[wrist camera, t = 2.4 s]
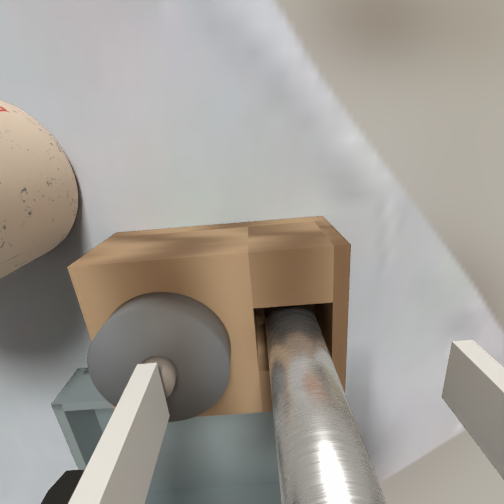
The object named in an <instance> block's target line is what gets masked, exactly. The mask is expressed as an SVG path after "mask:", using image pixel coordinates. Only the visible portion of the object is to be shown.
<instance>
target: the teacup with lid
mask: <svg viewBox="0 0 504 504" xmlns="http://www.w3.org/2000/svg"><path fill="white" fill-rule="evenodd" d="M77 209H78V190H77V184H76V179H75V176H74V173H73V170H72V167H71V165H70V163H69V161H68V159H67V157H66V155H65V153H64V152H63V150H62V148H61V147H60V145H59V144H58V143H57V141H56V140H55V139H54V138H53V137H52V135H51V134H50V133H49V132H48V131H47V130H46V129H45V128H44V127H43V126H42V125H41V124H40V123H38V122H37V121H36V120H35V119H34V118H32V117H31V116H29V115H28V114H27V113H25V112H24V111H22V110H20V109H19V108H17V107H15V106H13V105H11V104H9V103H7V102H4V101H2V100H0V279H1V278H3V277H4V276H6V275H8V274H10V273H12V272H13V271H15V270H17V269H19V268H21V267H22V266H24V265H26V264H28V263H29V262H31V261H33V260H35V259H37V258H38V257H40V256H42V255H44V254H46V253H47V252H49V251H51V250H52V249H54V248H55V247H56V246H58V245H59V244H60V243H61V242H62V241H63V240H64V239H65V238H66V236H67V235H68V234H69V232H70V230H71V228H72V226H73V224H74V221H75V218H76V215H77Z"/></svg>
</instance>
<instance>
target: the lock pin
mask: <svg viewBox="0 0 504 504" xmlns="http://www.w3.org/2000/svg"><path fill="white" fill-rule="evenodd" d="M264 318H265V328H266V339H267V350H268V361H269V372H270V383H271V394H272V405H273V416H274V427H275V438H276V449H277V460H278V471H279V482H280V492H281V503H282V504H386V501H385V498H384V496H383V493H382V490H381V488H380V485H379V482H378V480H377V477H376V475H375V472H374V469H373V467H372V464H371V461H370V459H369V456H368V454H367V451H366V448H365V446H364V443H363V440H362V438H361V435H360V433H359V430H358V427H357V425H356V422H355V419H354V417H353V414H352V411H351V409H350V406H349V404H348V401H347V398H346V396H345V393H344V390H343V388H342V385H341V383H340V380H339V377H338V375H337V372H336V369H335V367H334V364H333V362H332V359H331V356H330V354H329V351H328V348H327V346H326V343H325V340H324V338H323V335H322V333H321V330H320V327H319V325H318V322H317V319H316V317H315V314H314V312H313V309H312V306H311V304H305V305H292V306H279V307H266V308H264Z"/></svg>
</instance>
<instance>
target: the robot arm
mask: <svg viewBox="0 0 504 504" xmlns="http://www.w3.org/2000/svg"><path fill="white" fill-rule="evenodd" d="M442 398H443V399H444V401H445V402H446V403H447V405H448V406H449V407H450V409H451V410H452V411H453V413H454V414H455V415H456V417H457V418H458V419H459V421H460V422H461V423H462V425H463V426H464V427H465V429H466V430H467V431H468V433H469V434H470V435H471V437H472V438H473V439H474V441H475V442H476V443H477V445H478V446H479V447H480V449H481V450H482V451H483V453H484V454H485V455H486V457H487V458H488V459H489V461H490V462H491V463H492V465H493V466H494V467H495V469H496V470H497V471H498V472H499V474H500V475H501V477H502V478H503V479H504V368H503V367H502V366H501V365H500V364H499V363H498V362H497V361H496V360H495V359H493V358H492V357H491V356H490V355H489V354H488V353H487V352H486V351H484V350H483V349H482V348H481V347H480V346H479V345H478V344H477V343H475V342H474V341H473V340H466V341H452V345H451V350H450V356H449V361H448V366H447V371H446V377H445V382H444V387H443V393H442ZM169 416H170V415H169V411H168V407H167V403H166V398H165V394H164V390H163V386H162V382H161V377H160V373H159V369H158V365H157V363H147V364H137V366H136V368H135V370H134V372H133V374H132V376H131V378H130V380H129V382H128V384H127V386H126V388H125V390H124V392H123V394H122V396H121V398H120V400H119V402H118V404H117V406H116V408H115V410H114V412H113V414H112V416H111V418H110V420H109V422H108V424H107V426H106V428H105V430H104V432H103V434H102V436H101V438H100V440H99V442H98V444H97V446H96V449H95V451H94V453H93V455H92V457H91V459H90V461H89V463H88V465H87V467H86V469H85V470H71V471H66V472H65V473H64V474H63V475H62V476H61V477H60V478H59V480H58V481H57V482H56V483H55V484H54V485H53V486H52V487H51V488H50V490H49V491H48V492H47V494H46V496H45V497H44V499H43V501H42V503H41V504H145V500H146V497H147V493H148V490H149V486H150V483H151V479H152V476H153V472H154V469H155V465H156V462H157V458H158V455H159V451H160V448H161V444H162V441H163V437H164V434H165V430H166V427H167V423H168V420H169Z"/></svg>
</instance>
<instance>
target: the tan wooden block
mask: <svg viewBox="0 0 504 504" xmlns="http://www.w3.org/2000/svg"><path fill="white" fill-rule="evenodd" d="M350 252H351V244H350V243H349V242H348V241H347V240H346V239H345V238H344V237H343V236H342V235H341V234H340V233H339V232H338V231H337V230H336V229H335V228H334V227H333V226H332V225H331V224H330V223H329V222H328V221H327V220H326V219H325V218H324V217H323V216H317V217H304V218H292V219H279V220H267V221H255V222H242V223H230V224H217V225H205V226H192V227H180V228H168V229H155V230H143V231H130V232H118V233H115V234H113V235H112V236H111V237H109V238H108V239H106V240H105V241H103V242H102V243H101V244H99V245H98V246H96V247H95V248H93V249H92V250H91V251H89V252H88V253H86V254H85V255H83V256H82V257H81V258H79V259H78V260H76V261H75V262H73V263H72V264H71V265H69V266H68V267H67V268H68V271H69V274H70V277H71V281H72V284H73V287H74V290H75V293H76V296H77V299H78V302H79V305H80V308H81V311H82V314H83V317H84V320H85V324H86V327H87V330H88V333H89V336H90V339H91V345H90V347H89V351H88V358H87V364H88V371H89V374H90V377H91V380H92V382H93V384H94V385H95V387H96V389H97V390H98V391H99V393H100V394H101V395H102V396H103V397H104V398H105V399H106V400H107V401H108V402H109V403H110V404H112V406H113V410H115V408H116V406H117V404H118V402H119V400H120V398H121V396H122V394H123V392H124V390H125V388H126V386H127V384H128V382H129V380H130V378H131V376H132V374H133V372H134V370H135V368H136V366H137V364H147V363H157V365H158V369H159V373H160V377H161V382H162V386H163V390H164V394H165V398H166V403H167V407H168V411H169V415H170V416H169V420H168V422H176V421H182V420H187V419H190V418H193V417H200V416H215V415H229V414H244V413H258V412H272V411H273V405H272V394H271V383H270V372H269V361H268V350H267V339H266V328H265V318H264V308H266V307H279V306H292V305H305V304H311V306H312V309H313V312H314V314H315V317H316V319H317V322H318V325H319V327H320V330H321V333H322V335H323V338H324V340H325V343H326V346H327V348H328V351H329V354H330V356H331V359H332V362H333V364H334V367H335V369H336V372H337V375H338V377H339V380H340V383H341V385H342V388H343V390H344V393H345V378H346V353H347V328H348V302H349V277H350Z"/></svg>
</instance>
